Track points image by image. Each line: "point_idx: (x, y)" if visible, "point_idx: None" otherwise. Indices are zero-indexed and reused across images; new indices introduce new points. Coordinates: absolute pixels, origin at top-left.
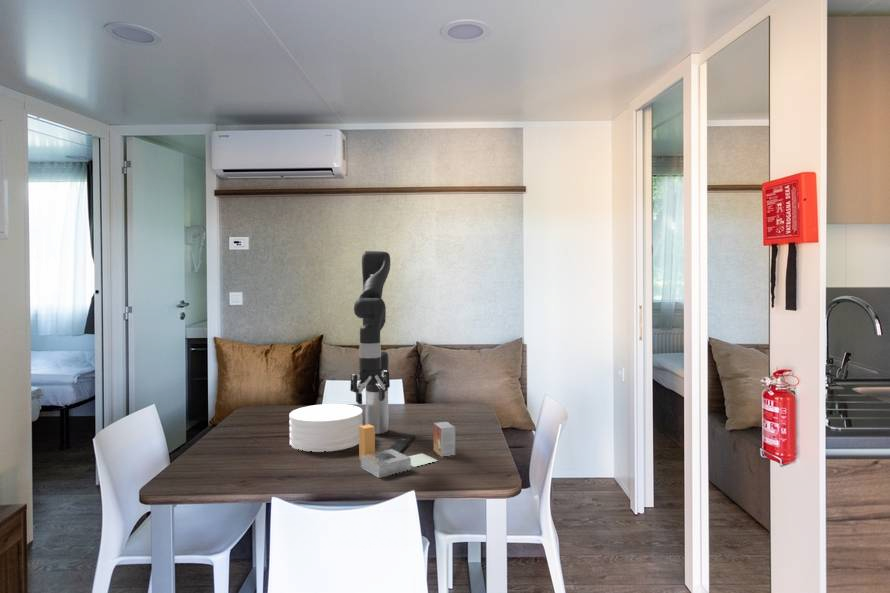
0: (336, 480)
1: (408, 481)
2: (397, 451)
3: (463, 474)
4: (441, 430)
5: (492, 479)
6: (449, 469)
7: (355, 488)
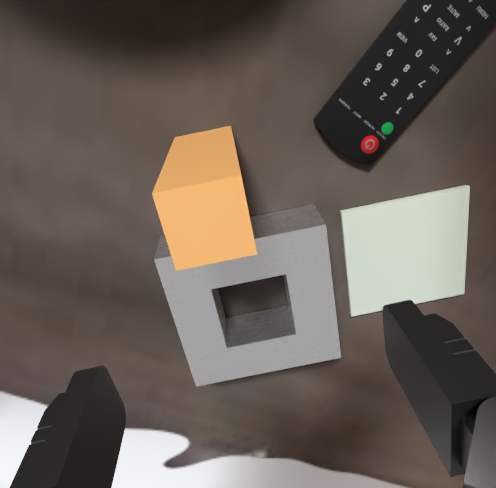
0: (44, 323)
1: (275, 404)
2: (383, 124)
3: None
4: None
5: None
6: None
7: None
